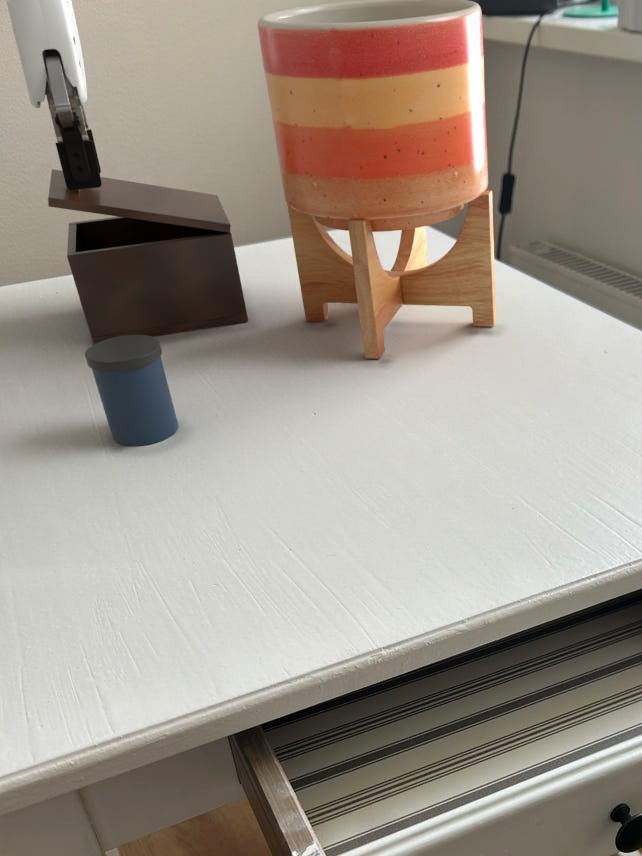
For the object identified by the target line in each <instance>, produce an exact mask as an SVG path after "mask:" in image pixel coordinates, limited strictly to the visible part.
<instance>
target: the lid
mask: <svg viewBox="0 0 642 856" xmlns="http://www.w3.org/2000/svg"><path fill="white" fill-rule="evenodd" d="M79 128H80V127H79ZM80 132H81V131H80ZM100 177H101V182H102V185H101V187H99V188H89V189H77V190H69V189H68V188H67V186H66V183H65V179H64V175H63V171H62V170H59V169H54V168H52V169H51V174H50V180H49V188H48V197H47V199H48V200H47V203H48V204H47V205H48V206H47V207H50V208H55V209H62V210H63V209H64V210H70V211H75V212H76V211H77V212H84V213H91V214H98V215H105V216H110V217H111V216H112V217H124V218H131V219H138V220H145V221H152V222H159V223H166V224H173V225H180V226H187V227H194V228H200V229H207V230H214V231H221V232H228V233H230V232H231V227H232V226H231V223H230V221H229V218H228V216H227V214H226V212H225V209H224V207H223V205H222V202H221V200H220V197H219V195H217V194H212V193H204V192H199V191H193V190H186V189H180V188H173V187H169V186H168V187H167V186H162V185H161V186H160V185H154V184H148V183H141V182H137V181H136V182H135V181H128V180H123V179H116V178H110V177H103V176H100Z"/></svg>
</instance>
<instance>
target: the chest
mask: <svg viewBox="0 0 642 856" xmlns="http://www.w3.org/2000/svg"><path fill="white" fill-rule="evenodd" d="M67 229H68V231H67V248H66V249H67V251H66V259H67V261H68V265H69V268H70V272H71V275H72V278H73V281H74V284H75V288H76V291H77V295H78V298H79V301H80V304H81V308H82V312H83V315H84V318H85V321H86V324H87V328H88V332H89V334H90V335H89V336H90V338H91V342H92V345H94V344H96V343H98V342H101V341H103V340H106V339H110V338H114V337H119V336H126V335H147V336H151V337H156V336H163V335H164V336H165V335H170V334H171V335H172V334H176V333H184V332H189V331H197V330H202V329H208V328H215V327H222V326H229V325H235V324H241V323H247V322H249V317H248V310H247V307H246V302H245V296H244V291H243V285H242V281H241V275H240V270H239V265H238V260H237V255H236V250H235V246H234V239H233V234H232V232H231V231H230V233H228V232H221V231H214V230H207V229H200V228H194V227H187V226H180V225H173V224H166V223H159V222H152V221H145V220H138V219H131V218H124V217H118V216H112V217H111V216H110V217H105V218H97V219H88V220H82V221H81V220H80V221H73V222H68V228H67Z"/></svg>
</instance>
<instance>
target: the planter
mask: <svg viewBox="0 0 642 856" xmlns="http://www.w3.org/2000/svg"><path fill="white" fill-rule="evenodd" d="M257 30H258V37H259V44H260V52H261V57H262V58H261V59H262V66H263V71H264V76H265V82H266V89H267V94H268V100H269V105H270V106H269V107H270V112H271V119H272V124H273V130H274V131H273V132H274V138H275V144H276V150H277V151H276V152H277V158H278V165H279V171H280V176H281V182H282V183H281V184H282V189H283V194H284V195H283V196H284V200H285V202H286V206H287V212H288V217H289V223H290V230H291V235H292V243H293V248H294V255H295V262H296V267H297V273H298V280H299V287H300V293H301V299H302V306H303V311H304V317H305V322H315V323H316V322H318V323H324V322H326V321H327V320H328V319H329V318H330V310H329V304H356V305H357V306H358V307H357V308H358V315H359V323H360V331H361V337H362V338H361V340H362V346H363V355H364V359H374V360H375V359H376V360H380V359H381V358H382V356H383V355H384V353H385V352H386V345H385V335H384V331H385V329H386V328H387V326H388V325H389V324H390V322H391V321H392V320H393V318H394V317H395V316H396V314H397V313H398V312H399V310H400V309H401V308H402V306H438V307H439V306H440V307H470V308H471V310H472V325H473V327H490V328H491V327H492V328H493V327H495V325H496V323H497V297H496V295H497V294H496V268H495V265H496V264H495V241H494V238H495V237H494V214H493V213H494V211H493V210H494V209H493V205H494V204H493V191H492V190H491V189H490V190H487V189H488V187H489V161H488V159H489V158H488V137H487V136H488V135H487V119H486V118H487V117H486V94H485V93H486V91H485V89H486V88H485V54H484V53H485V51H484V32H483V31H484V29H483V13H482V8H481V5H479V3H477V2H475V1H473V0H351V1H339V2H330V3H329V2H328V3H320V4H313V5H312V4H311V5H304V6H297V7H291V8H286V9H281V10H276V11H272V12H269V13H266V14H264V15H261V16H260V17H259V18H258V20H257ZM465 204H467V208H466V209H467V210H466V214H465V219H464V222H463V224H462V228H461V230H460V233H459V234H458V237H457V238H456V241H455V243H454V244H453V245H452V247H451V248H450V249H449V250H448V251H447V252H446V253H445V254H444V255H443V256H442V257H440V258H438V260H436V261H434V262H432V263H431V264H429V255H428V242H427V241H428V240H427V231H426V230H427V229H426V227H428V226H431V225H435V224H439V223H443V222H446V221H448V220H450V219H451V218H454V217H455V216H457V215H459V214H460V213H461V212H462V211H463V209H464V207H465ZM325 227H327V228H330V229H335V230H340V231H346V232H348V234H349V235H348V236H349V242H350V243H349V244H350V250H351V255H350V254H349V253H347V252H346V251H345V250H343V249H342V248H341V246H339V244H338V243H337V242H335V240H334V239H333V238H332V236H331V235H330V234H329V232H328V231H327V229H326V228H325ZM396 231H401V232H400V239H399V244H398V251H397V254H396V258H395V260H394V263H393V265H392V267H391V268H390V270H386V269H384V266H383V265H382V262H381V260H380V257H379V253H378V249H377V247H376V242H375V237H374V233H383V232H396Z"/></svg>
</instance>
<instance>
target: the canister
mask: <svg viewBox="0 0 642 856" xmlns="http://www.w3.org/2000/svg"><path fill="white" fill-rule="evenodd" d="M162 353H163V350H162V346H161V342H160V340H159V339H158V338H156V337H155V336H147V335H126V336H119V337H114V338H110V339H106V340H103V341H101V342H98V343H96V344H94V345H93V344H92V345H91V346H89V347H88V348H87V349H86V350H85V352H84V358H85V361H86V364H87V366H88V367H89V368H90V369H91V371H92V374H93V378H94V381H95V384H96V388H97V391H98V394H99V397H100V400H101V404H102V407H103V411H104V414H105V417H106V420H107V424H108V428H109V429H110V434H111V437H112V439H113V441H114V442H115V443H117V444H118V445H122V446H128V447H139V446H147V445H152V444H156V443H159V442H162V441H164V440H167V439H169V438H170V437H172V436H173V435H174V434H176V433H177V431H178V429H179V422H178V418H177V414H176V410H175V407H174V403H173V398H172V395H171V391H170V387H169V383H168V379H167V376H166V372H165V368H164V364H163V360H162Z"/></svg>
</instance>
